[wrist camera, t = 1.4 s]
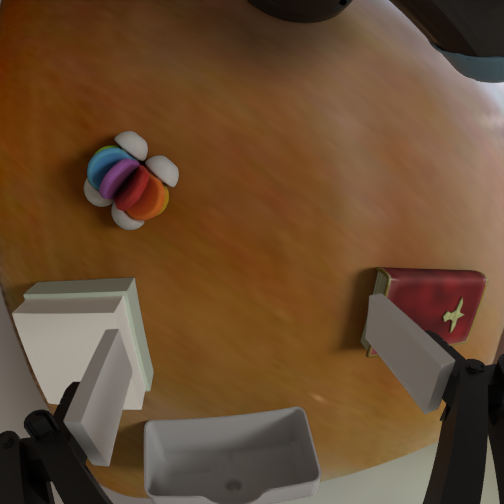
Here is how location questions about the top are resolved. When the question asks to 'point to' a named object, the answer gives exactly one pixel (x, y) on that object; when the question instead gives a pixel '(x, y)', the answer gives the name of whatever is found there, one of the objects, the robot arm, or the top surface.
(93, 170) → the chunky wheeled toy
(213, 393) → the top surface
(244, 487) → the light grey storage bin
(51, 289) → the grey square box
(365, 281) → the top surface
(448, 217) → the top surface
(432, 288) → the hardcover book
